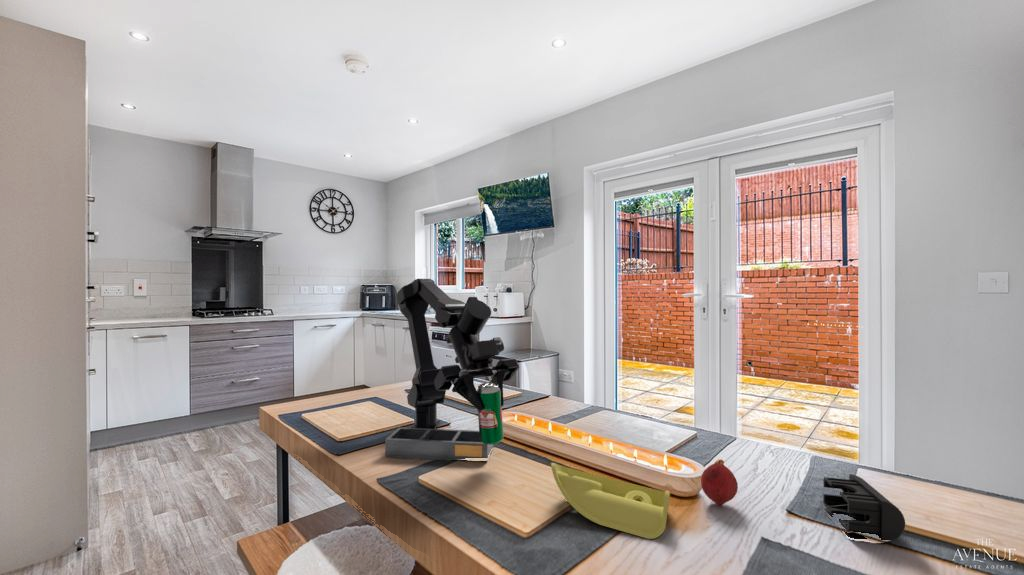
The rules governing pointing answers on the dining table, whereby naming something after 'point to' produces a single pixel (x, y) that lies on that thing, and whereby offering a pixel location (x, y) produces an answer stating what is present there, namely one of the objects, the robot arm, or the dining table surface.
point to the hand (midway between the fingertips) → (491, 408)
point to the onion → (719, 483)
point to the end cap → (863, 509)
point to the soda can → (490, 413)
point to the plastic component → (614, 501)
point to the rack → (435, 444)
